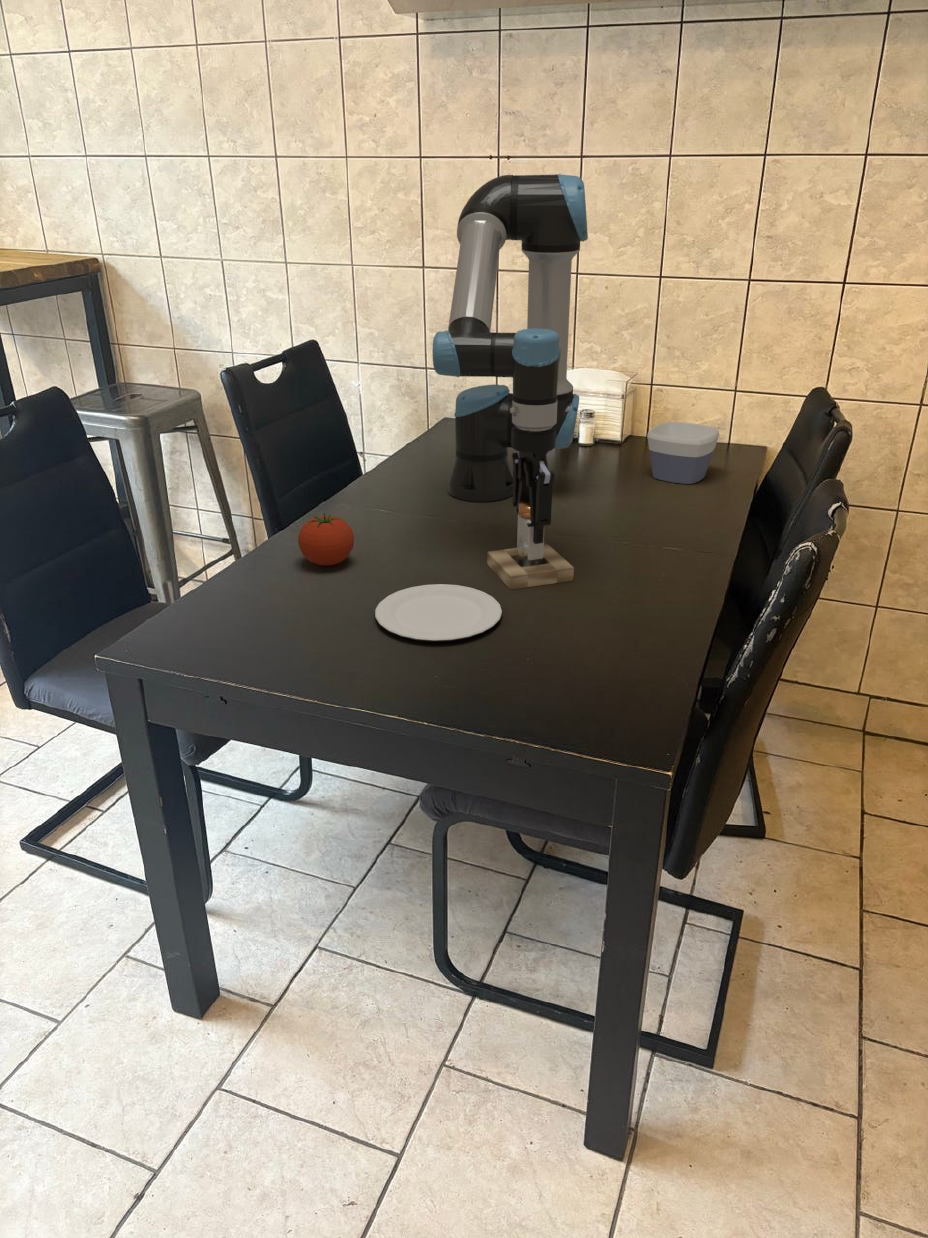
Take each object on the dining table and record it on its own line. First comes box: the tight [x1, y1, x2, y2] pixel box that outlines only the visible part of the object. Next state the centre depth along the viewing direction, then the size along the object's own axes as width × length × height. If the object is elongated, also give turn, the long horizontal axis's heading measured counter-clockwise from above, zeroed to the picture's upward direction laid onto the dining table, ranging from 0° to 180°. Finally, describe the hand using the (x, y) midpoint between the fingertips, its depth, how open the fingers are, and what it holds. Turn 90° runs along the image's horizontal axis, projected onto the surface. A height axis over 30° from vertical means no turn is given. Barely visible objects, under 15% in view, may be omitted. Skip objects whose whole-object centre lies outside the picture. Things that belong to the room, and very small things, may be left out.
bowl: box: [646, 421, 720, 485], centre depth 214 cm, size 15×15×11 cm
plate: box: [374, 583, 503, 643], centre depth 150 cm, size 21×21×2 cm
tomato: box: [297, 512, 355, 567], centre depth 168 cm, size 10×10×10 cm
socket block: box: [486, 543, 575, 590], centre depth 165 cm, size 12×12×2 cm
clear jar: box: [517, 500, 542, 567], centre depth 163 cm, size 4×4×13 cm
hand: (530, 553), depth 164 cm, fingers closed on clear jar, 4 cm apart
